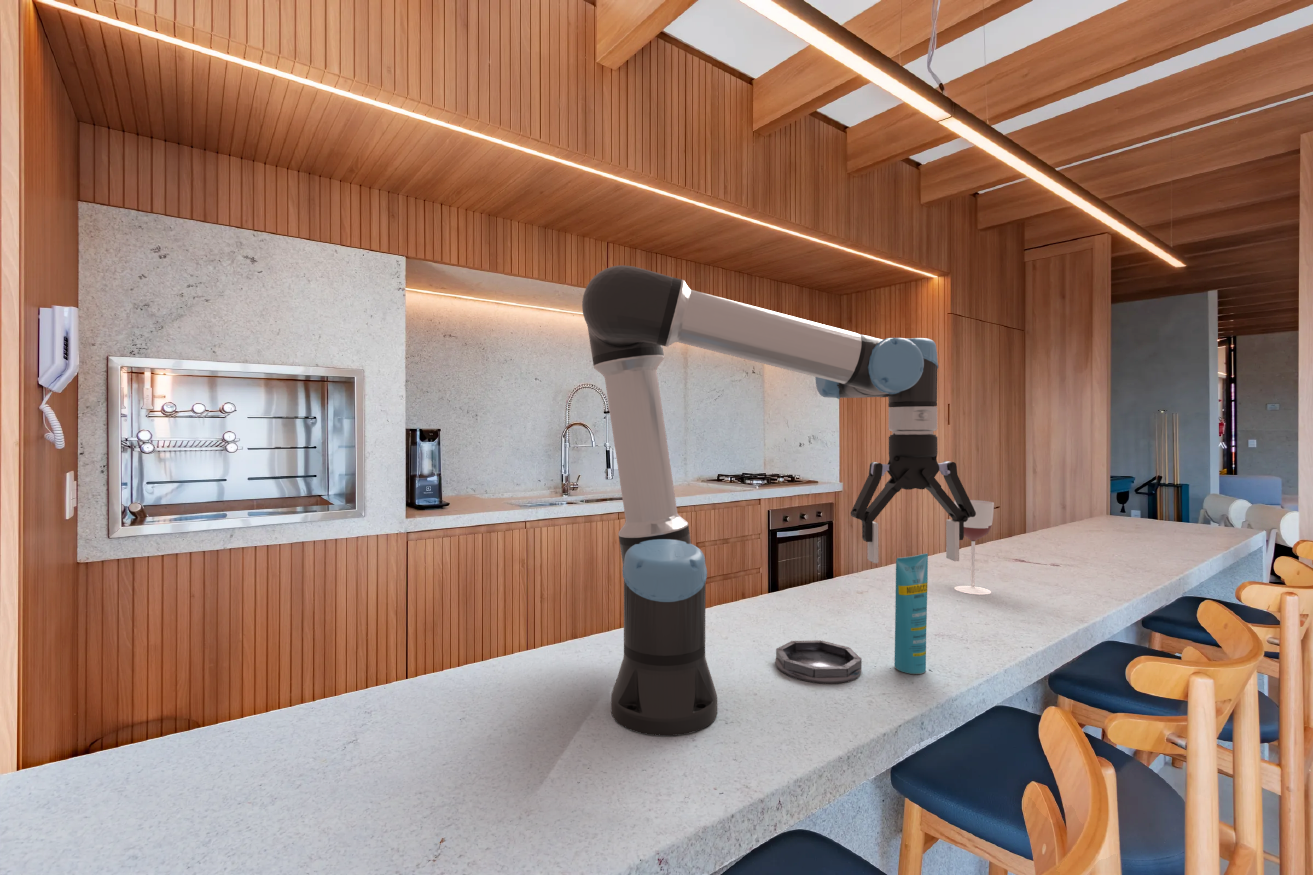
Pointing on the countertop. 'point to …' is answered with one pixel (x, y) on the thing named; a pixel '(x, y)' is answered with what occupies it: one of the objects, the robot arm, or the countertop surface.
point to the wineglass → (974, 531)
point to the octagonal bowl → (818, 662)
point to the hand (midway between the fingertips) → (912, 560)
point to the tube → (911, 613)
